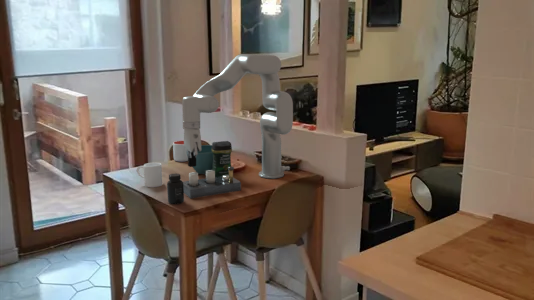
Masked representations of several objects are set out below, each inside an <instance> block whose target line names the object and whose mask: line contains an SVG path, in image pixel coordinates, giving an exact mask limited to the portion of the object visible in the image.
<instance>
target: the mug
mask: <svg viewBox="0 0 534 300" xmlns="http://www.w3.org/2000/svg"><path fill="white" fill-rule="evenodd" d="M162 167H163V166H162V163H161V162H148V163H144V164H143V165H139V166H137V168H136V172H137V174H138V176H139V177H140V178H143V179H144V180H143V181H144V186H145V187H147V188H158V187H161V186H162V185H163V172H162V171H163V170H162V169H163V168H162ZM140 169H143V174H141V172H140Z"/></svg>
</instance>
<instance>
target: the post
mask: <svg viewBox="0 0 534 300" xmlns="http://www.w3.org/2000/svg"><path fill="white" fill-rule="evenodd" d="M234 169H235V167H234V166H232V165H231V166H230V167H228V170H229V183H233V178H234Z"/></svg>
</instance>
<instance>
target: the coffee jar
mask: <svg viewBox="0 0 534 300" xmlns="http://www.w3.org/2000/svg"><path fill="white" fill-rule="evenodd" d="M232 150H233V147H232V142H230V141H228V140H222V141H214V142H212V153H213V168H212V170H214V171H215V177H219V176H223V175H229V170H228V167H230V166H232V160H231V154H232V152H233V151H232Z"/></svg>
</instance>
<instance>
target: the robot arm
mask: <svg viewBox="0 0 534 300" xmlns="http://www.w3.org/2000/svg"><path fill="white" fill-rule="evenodd" d="M281 67H282V61H281V59H280V58H279V57H278V56H276V55H272V54H264V53H263V54H259V53H257V54H254V53H253V54H250V53H240V54H238V55H236V56H235V57H234V58H233V59H231V61H230V62H229V64H227V66H225V68H224V69H223V70H222V71H221V72H220V74H218V75H216V76H214V77H213V78H211V79H210V80H208V81H206V82H205V83H204V84H203V85H201V86H200V87H199V88H198V90H196V92H195V93H194V94H193V95H187V96H184V97H183V98H182V101H181V103H182V106H181V107H182V109H181V110H182V129H183V141H184V148H185V149H187V152H188V161H187V166H188V167H189V168H193V167H195V166H196V155H198V153H197V151H199V152H200V151H201V145H202V137H201V136H202V135H201V113H206V114H212V113H214V112H216V111H217V110H218V109H219V105H220V102H219V100H218V98H217V97H215V96H216V95H218V94H220V93H223V92H226V91H229V90H231V89H234V88H235V86H237V85H238V83H239V82H240V81H241V80H242V78H244V77H245V76H246V75H247V74H253V75H259V77H260V80H261V89H262V92H261V93H262V97H261V99H262V105H263V107H264V108H265V109H267V110H270V111H267V112H265V113H263V114H262V115H261V116H260V119H259V128H260V132H261V170H260V171H259V172H258V176H259V177H260V178H263V179H279V178H282V177H284V176H285V171H290V169H291V167H290V166H289V165H288V166H285V165H282V137H281V135H288V134H289V133H290V132H291V131H292V129H293V126H294V113H293V112H294V103H293V98H292V96H291V94H289V93H288V92H286V91H281V83H280V77H279V74H278V73H279V72H280V70H281V69H282V68H281ZM272 111H274V112H272Z"/></svg>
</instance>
